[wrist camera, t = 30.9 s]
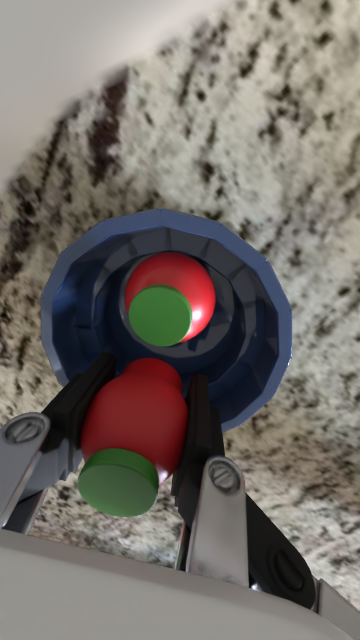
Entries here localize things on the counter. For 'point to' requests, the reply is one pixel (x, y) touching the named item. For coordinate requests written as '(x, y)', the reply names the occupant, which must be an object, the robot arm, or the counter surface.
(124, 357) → the bowl
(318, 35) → the counter surface
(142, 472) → the red rounded bottle shape
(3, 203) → the counter surface
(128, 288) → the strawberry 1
